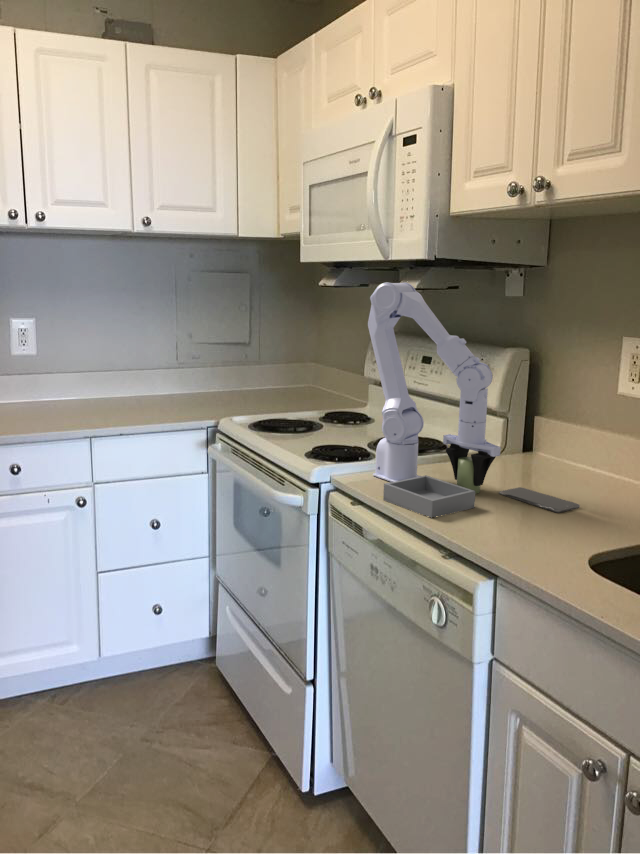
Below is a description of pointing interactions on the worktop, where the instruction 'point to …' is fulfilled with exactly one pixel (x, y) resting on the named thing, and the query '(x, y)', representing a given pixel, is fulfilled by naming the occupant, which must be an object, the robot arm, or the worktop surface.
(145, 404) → the worktop surface
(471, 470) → the green cylinder
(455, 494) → the grey bin
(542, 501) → the smartphone
